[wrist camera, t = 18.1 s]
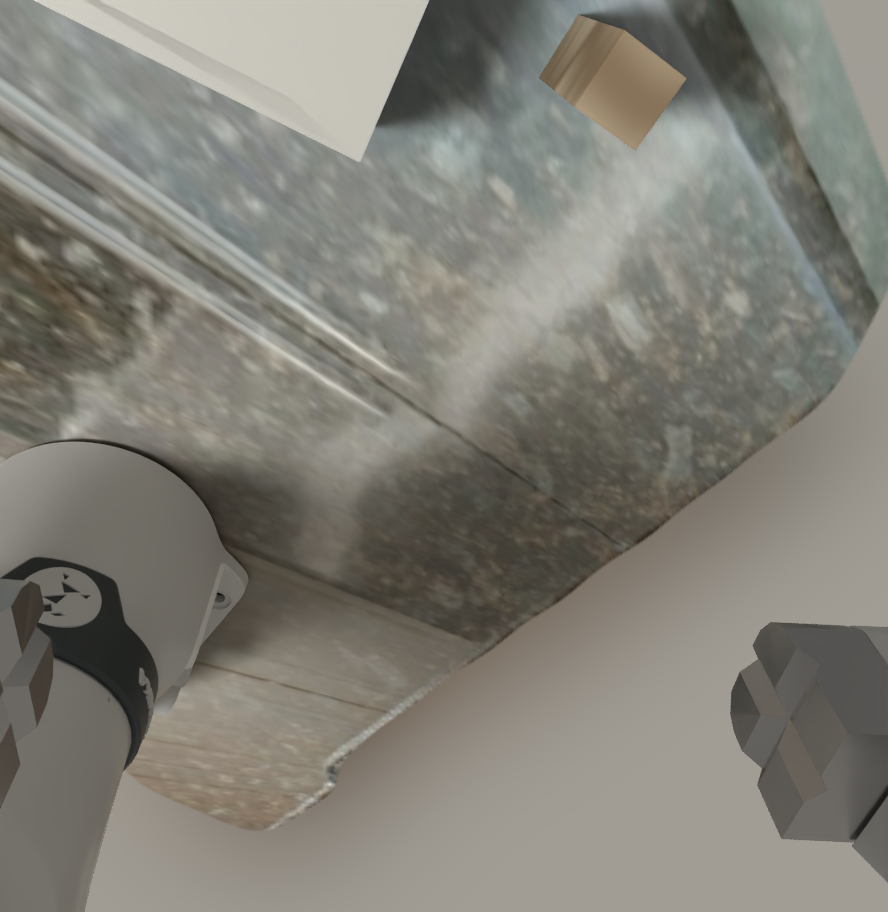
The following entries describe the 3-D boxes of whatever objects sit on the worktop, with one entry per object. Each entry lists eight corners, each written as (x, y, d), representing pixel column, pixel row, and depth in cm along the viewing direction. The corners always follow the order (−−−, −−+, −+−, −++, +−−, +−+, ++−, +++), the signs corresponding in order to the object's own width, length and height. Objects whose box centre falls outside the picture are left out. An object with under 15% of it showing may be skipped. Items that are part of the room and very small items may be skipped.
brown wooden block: (589, 114, 37) (635, 150, 31) (539, 77, 36) (574, 107, 30) (629, 54, 36) (686, 78, 29) (578, 14, 35) (624, 30, 28)
